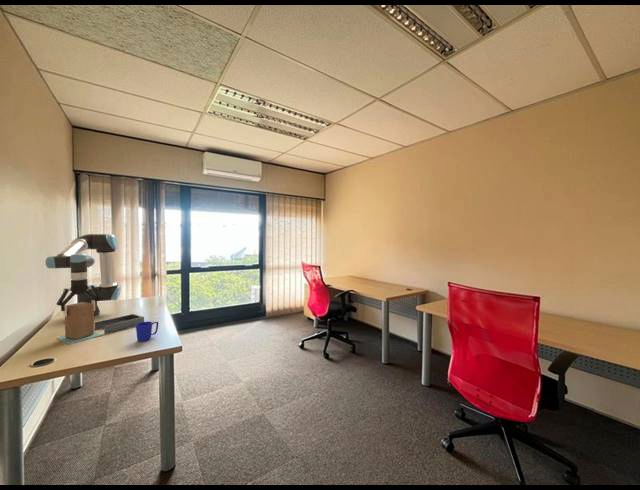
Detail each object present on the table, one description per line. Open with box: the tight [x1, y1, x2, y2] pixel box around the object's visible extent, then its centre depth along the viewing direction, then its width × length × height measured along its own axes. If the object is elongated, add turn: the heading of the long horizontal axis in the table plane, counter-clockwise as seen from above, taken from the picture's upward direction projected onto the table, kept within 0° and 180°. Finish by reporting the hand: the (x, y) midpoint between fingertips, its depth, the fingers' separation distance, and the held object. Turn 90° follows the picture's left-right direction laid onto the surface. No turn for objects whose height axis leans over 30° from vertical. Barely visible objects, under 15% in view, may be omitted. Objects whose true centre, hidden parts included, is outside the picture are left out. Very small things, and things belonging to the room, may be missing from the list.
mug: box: [135, 321, 159, 343], centre depth 158 cm, size 8×12×10 cm
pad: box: [56, 331, 103, 345], centre depth 161 cm, size 18×16×1 cm
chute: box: [94, 313, 145, 335], centre depth 180 cm, size 15×23×5 cm, turn 151°
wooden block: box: [64, 302, 95, 339], centre depth 161 cm, size 10×10×20 cm
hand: (79, 313), depth 161 cm, fingers open, 13 cm apart
